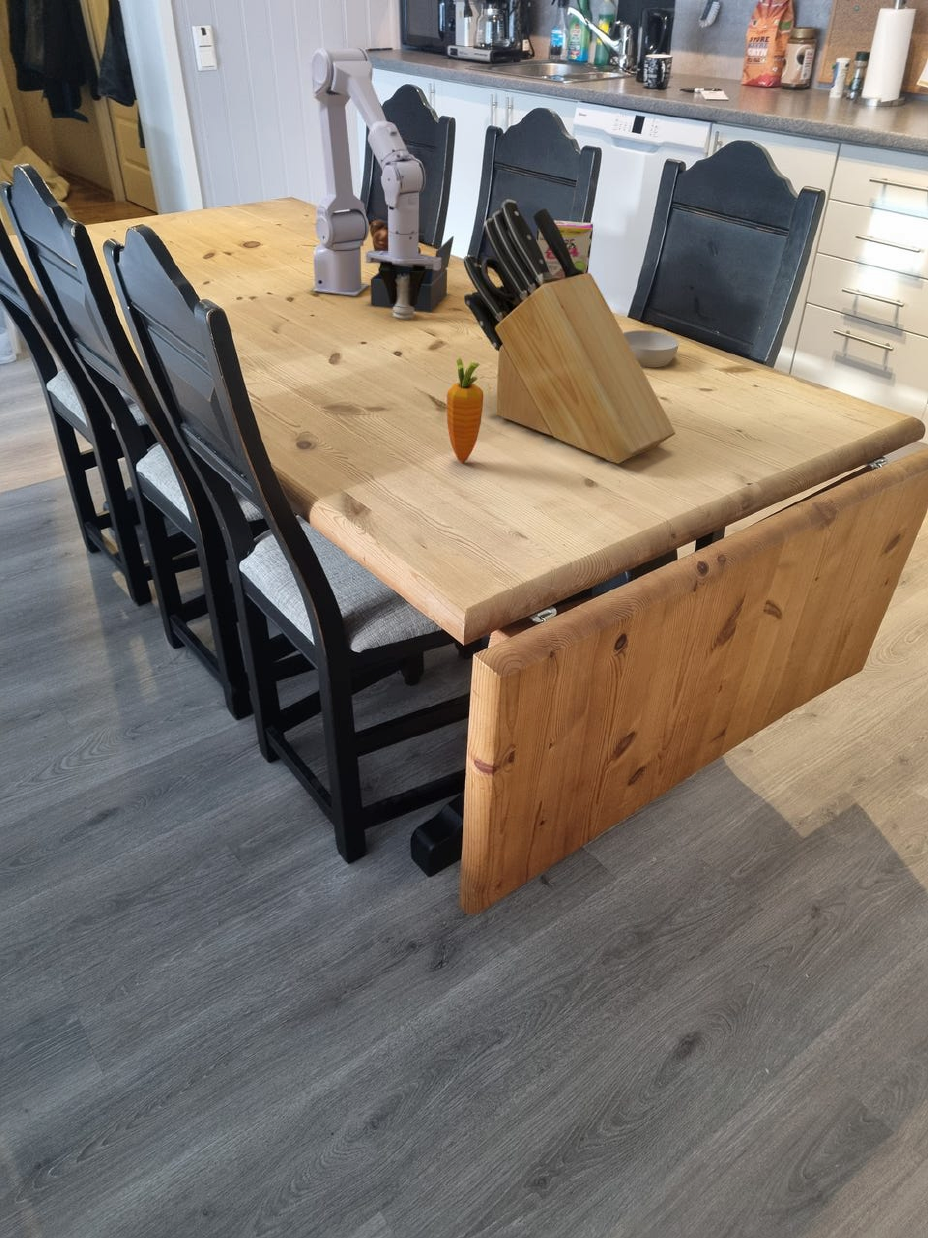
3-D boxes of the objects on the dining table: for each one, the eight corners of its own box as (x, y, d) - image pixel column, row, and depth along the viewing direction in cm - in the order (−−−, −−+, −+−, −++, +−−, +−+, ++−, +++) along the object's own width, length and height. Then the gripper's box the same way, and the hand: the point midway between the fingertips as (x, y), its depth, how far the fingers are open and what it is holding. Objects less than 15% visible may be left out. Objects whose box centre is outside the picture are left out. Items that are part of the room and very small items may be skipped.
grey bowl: (667, 373, 164) (670, 352, 161) (570, 355, 169) (573, 334, 167) (682, 355, 172) (685, 334, 169) (589, 338, 178) (592, 318, 175)
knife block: (499, 382, 157) (511, 184, 139) (673, 451, 137) (714, 230, 119) (452, 399, 150) (458, 193, 132) (628, 473, 131) (663, 243, 113)
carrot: (443, 455, 133) (446, 352, 125) (478, 455, 134) (483, 352, 125) (446, 470, 129) (449, 365, 121) (481, 470, 130) (487, 365, 121)
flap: (446, 265, 194) (448, 266, 194) (430, 281, 184) (432, 282, 184) (452, 235, 190) (453, 236, 190) (436, 250, 180) (437, 250, 180)
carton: (446, 295, 197) (447, 269, 194) (430, 312, 187) (431, 285, 184) (389, 288, 199) (389, 263, 196) (371, 305, 189) (370, 278, 186)
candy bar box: (530, 308, 192) (536, 223, 182) (531, 300, 196) (537, 218, 186) (584, 311, 191) (593, 227, 182) (584, 304, 195) (593, 221, 186)
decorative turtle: (381, 249, 225) (384, 214, 220) (431, 266, 218) (434, 230, 214) (355, 255, 218) (357, 219, 213) (405, 272, 211) (408, 235, 207)
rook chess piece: (418, 315, 185) (418, 273, 181) (409, 321, 182) (409, 279, 177) (397, 312, 186) (397, 270, 182) (388, 318, 183) (388, 276, 178)
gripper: (359, 231, 173) (361, 305, 181) (434, 239, 170) (433, 313, 178) (371, 223, 178) (373, 295, 186) (444, 230, 176) (443, 303, 184)
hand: (403, 303), depth 183 cm, fingers open, 4 cm apart
